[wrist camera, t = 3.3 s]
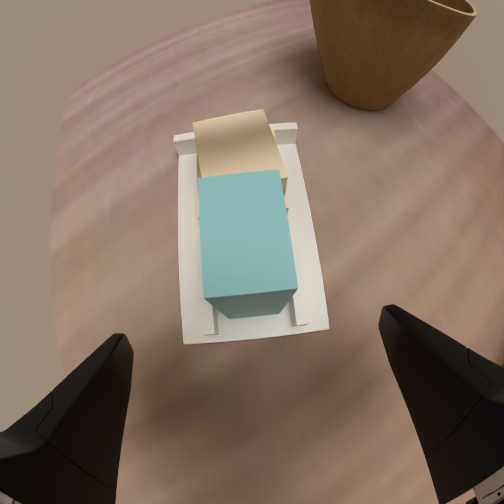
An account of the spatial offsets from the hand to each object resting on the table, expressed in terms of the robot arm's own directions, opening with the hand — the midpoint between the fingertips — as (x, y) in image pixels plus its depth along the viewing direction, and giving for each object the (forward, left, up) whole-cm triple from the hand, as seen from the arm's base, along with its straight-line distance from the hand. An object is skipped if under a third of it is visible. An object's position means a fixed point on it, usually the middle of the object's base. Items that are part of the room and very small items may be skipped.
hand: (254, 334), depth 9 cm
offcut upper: (+10, +6, -8) cm, 14 cm away
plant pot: (+27, +1, -11) cm, 29 cm away
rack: (+7, +4, -11) cm, 13 cm away
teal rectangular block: (+3, +2, -10) cm, 11 cm away
